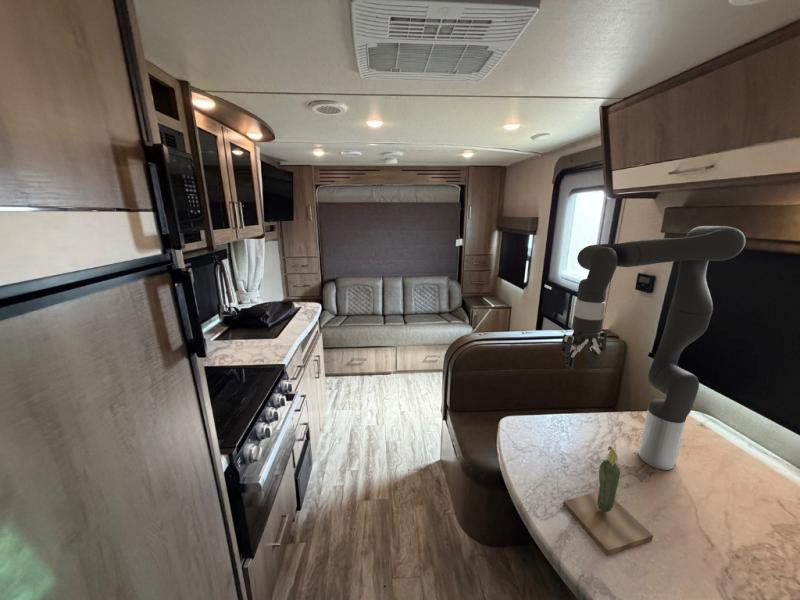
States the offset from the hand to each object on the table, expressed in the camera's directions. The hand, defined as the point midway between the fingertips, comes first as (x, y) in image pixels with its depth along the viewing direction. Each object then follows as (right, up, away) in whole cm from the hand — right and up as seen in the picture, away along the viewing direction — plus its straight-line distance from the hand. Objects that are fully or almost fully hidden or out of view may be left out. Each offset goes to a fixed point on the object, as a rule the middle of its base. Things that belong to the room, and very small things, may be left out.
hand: (580, 365), depth 95 cm
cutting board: (-1, -39, -13) cm, 41 cm away
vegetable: (-1, -37, -12) cm, 39 cm away
